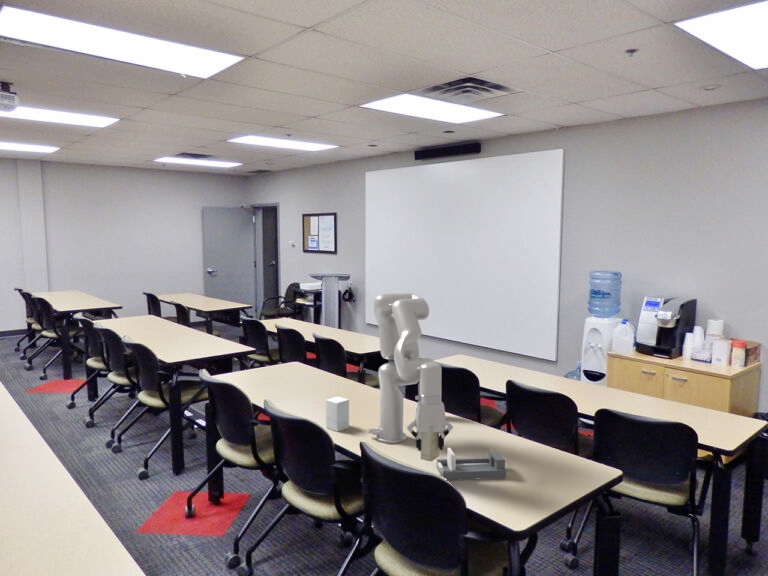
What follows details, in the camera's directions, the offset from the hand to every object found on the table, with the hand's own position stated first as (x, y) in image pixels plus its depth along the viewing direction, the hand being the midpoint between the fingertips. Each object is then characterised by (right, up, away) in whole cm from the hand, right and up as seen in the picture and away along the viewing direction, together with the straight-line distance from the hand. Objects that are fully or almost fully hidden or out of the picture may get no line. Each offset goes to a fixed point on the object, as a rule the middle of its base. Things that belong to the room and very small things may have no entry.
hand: (429, 448), depth 179 cm
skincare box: (0, -3, 0) cm, 3 cm away
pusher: (+15, -8, +3) cm, 17 cm away
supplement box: (-36, -5, +45) cm, 58 cm away
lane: (+15, -9, +3) cm, 18 cm away
